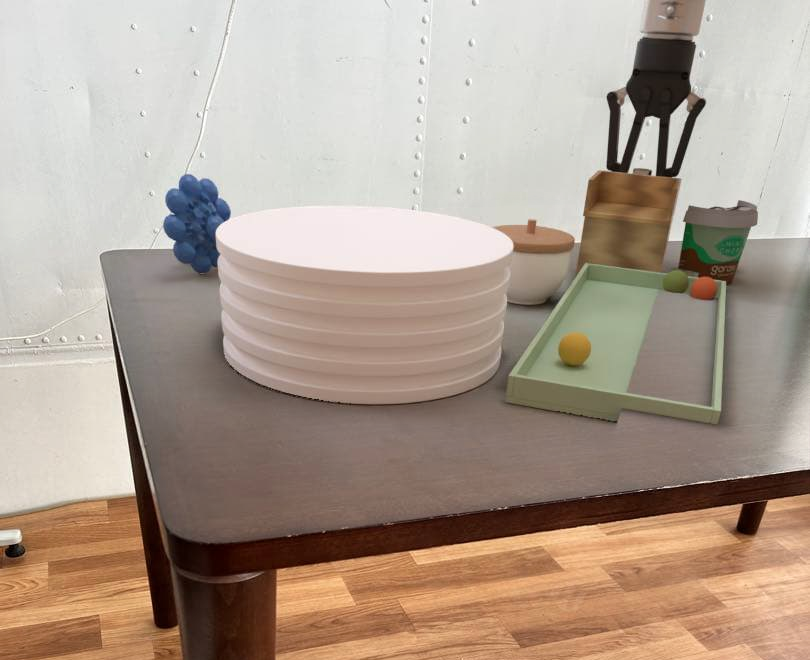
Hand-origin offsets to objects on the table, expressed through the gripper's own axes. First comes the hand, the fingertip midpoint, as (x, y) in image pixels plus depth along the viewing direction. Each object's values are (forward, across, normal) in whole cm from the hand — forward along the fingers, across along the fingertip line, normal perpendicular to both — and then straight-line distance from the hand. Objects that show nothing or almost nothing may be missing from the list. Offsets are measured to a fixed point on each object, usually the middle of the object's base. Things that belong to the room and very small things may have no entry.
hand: (631, 226), depth 119 cm
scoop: (-3, 0, -6) cm, 7 cm away
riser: (+5, 0, -9) cm, 10 cm away
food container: (+6, +13, -4) cm, 15 cm away
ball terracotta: (+3, +11, -19) cm, 22 cm away
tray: (+5, +5, -38) cm, 38 cm away
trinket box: (+6, -10, -26) cm, 29 cm away
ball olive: (+3, +8, -17) cm, 19 cm away
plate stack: (+6, -21, -54) cm, 58 cm away
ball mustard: (+3, 0, -50) cm, 50 cm away
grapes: (+6, -49, -36) cm, 61 cm away
